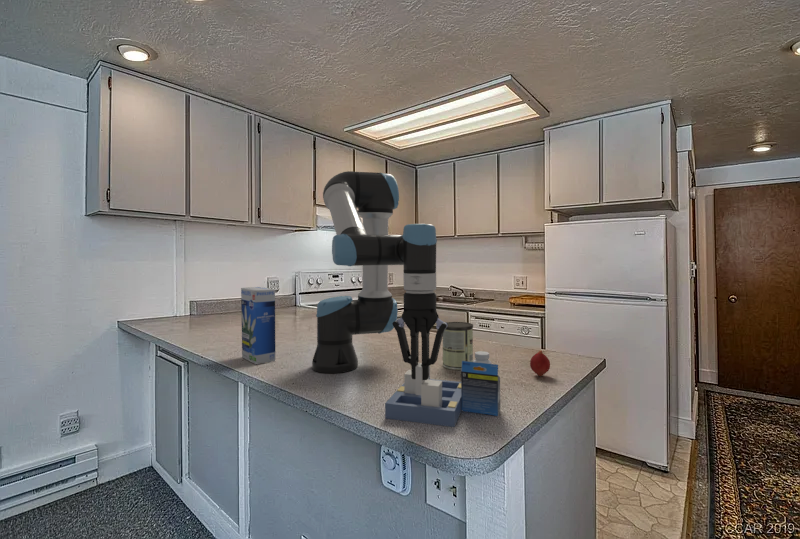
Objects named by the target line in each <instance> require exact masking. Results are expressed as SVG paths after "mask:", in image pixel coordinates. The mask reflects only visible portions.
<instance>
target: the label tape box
mask: <svg viewBox="0 0 800 539" xmlns="http://www.w3.org/2000/svg"><path fill="white" fill-rule="evenodd" d="M478 366H480V367H481V368H485V371H481V370H474V369H473V367H478ZM460 378H461V380H460V382H461V412H465V413H472V414H480V415H481V414H482V415H488V416H494V417H499V414H500V411H501V377H500V376H499V364H497V363H496V364H495V363H492V364H487V363H478V362H469V361H462V368H461V370H460Z"/></svg>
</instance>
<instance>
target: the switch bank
mask: <svg viewBox="0 0 800 539" xmlns="http://www.w3.org/2000/svg"><path fill="white" fill-rule="evenodd" d="M430 380H436V379H435V378H430ZM437 380H438V381H442V408H441V407H432V406H423V405H421V395H416V394H410V393H404V383H402V384H401V386H399V387H398V389H397V390H396V391H395V392H394V393H393V395H391V396H390V397H389V399H388V400H387V401H385V403H384V404H385V405H384V410H385V411H384V414H385V415H384V419H388V420H394V421H395V420H396V421H403V422H410V423H411V422H412V423H418V424H419V423H420V424H426V425H435V426H442V427H449V428H450V427H451V428H455V427H456V425H457V422H458V420H459V417H460V415H461V412H462V410H461V381H456V380H446V379H445V380H444V379H443V380H442V379H437Z"/></svg>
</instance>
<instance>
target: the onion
mask: <svg viewBox="0 0 800 539" xmlns="http://www.w3.org/2000/svg"><path fill="white" fill-rule="evenodd" d="M529 364H530V365H529V366H530V369H531V371H533V372H534V373H535V374H536V375H537V376H539V377H542V376H544V375H545V374H546V373H548V372H549V370H550V369H551V368H550V367H551V361H550V359H549V358H548V356H547V355H546V354H544V353H543V350H539V351H538V352H537V353H535V354H533V356H532V357H531V358H530V361H529Z"/></svg>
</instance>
